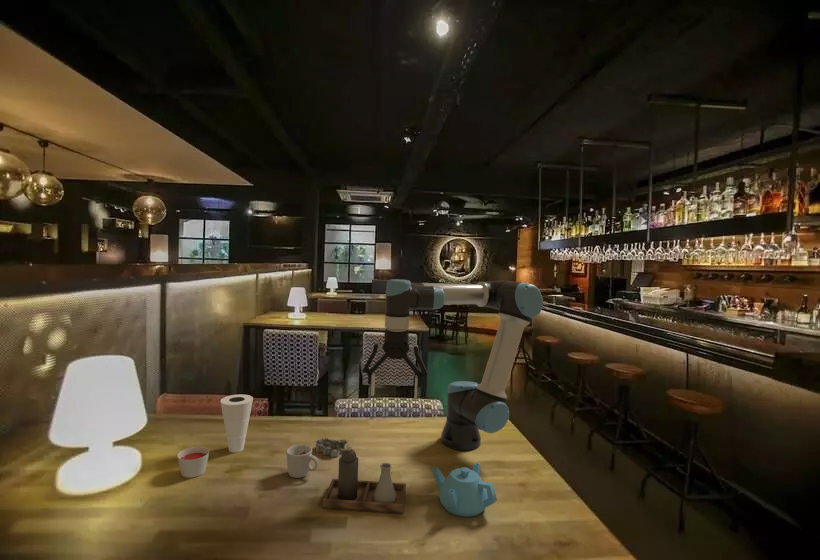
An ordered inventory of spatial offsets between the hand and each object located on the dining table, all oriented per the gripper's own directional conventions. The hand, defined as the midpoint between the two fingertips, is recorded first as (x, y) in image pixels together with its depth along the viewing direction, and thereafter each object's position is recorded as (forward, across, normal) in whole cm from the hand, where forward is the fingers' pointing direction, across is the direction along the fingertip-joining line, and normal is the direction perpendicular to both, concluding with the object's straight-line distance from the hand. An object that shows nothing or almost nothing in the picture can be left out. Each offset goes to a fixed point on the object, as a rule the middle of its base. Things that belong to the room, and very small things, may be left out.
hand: (394, 395), depth 138 cm
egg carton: (+27, +23, -16) cm, 39 cm away
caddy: (+27, +6, +13) cm, 30 cm away
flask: (+26, 0, +13) cm, 29 cm away
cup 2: (+27, +56, -12) cm, 63 cm away
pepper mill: (+26, +11, +13) cm, 31 cm away
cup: (+27, +28, +2) cm, 39 cm away
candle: (+27, +62, +5) cm, 68 cm away
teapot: (+27, -22, +12) cm, 37 cm away
